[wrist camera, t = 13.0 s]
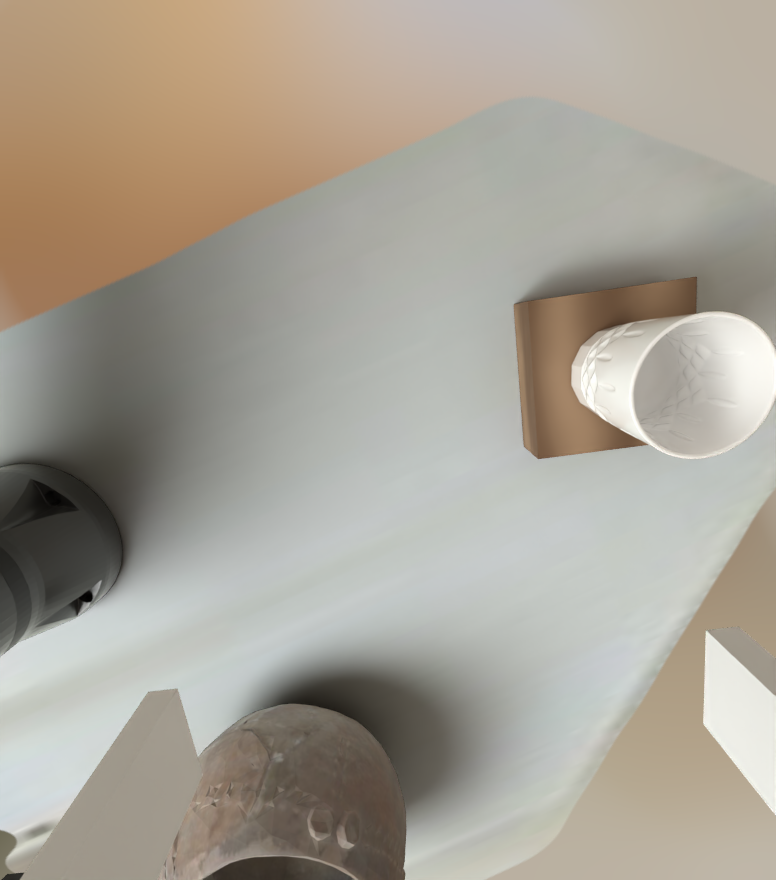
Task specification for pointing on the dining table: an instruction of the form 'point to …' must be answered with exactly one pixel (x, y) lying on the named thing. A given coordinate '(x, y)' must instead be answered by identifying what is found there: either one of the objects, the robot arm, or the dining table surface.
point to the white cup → (680, 381)
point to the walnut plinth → (554, 349)
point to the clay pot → (292, 803)
